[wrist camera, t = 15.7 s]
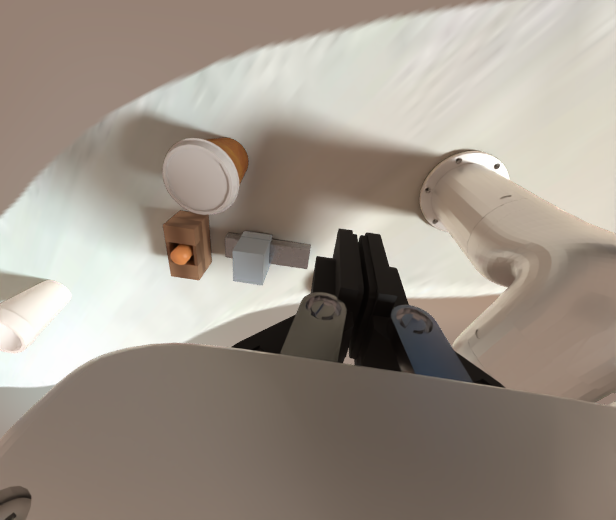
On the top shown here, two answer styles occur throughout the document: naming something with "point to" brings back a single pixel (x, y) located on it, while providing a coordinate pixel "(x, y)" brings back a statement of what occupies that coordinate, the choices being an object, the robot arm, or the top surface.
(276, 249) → the rail
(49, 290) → the foam cup
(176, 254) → the peg
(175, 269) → the tan slotted block
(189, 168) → the disposable coffee cup
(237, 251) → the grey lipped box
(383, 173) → the top surface
